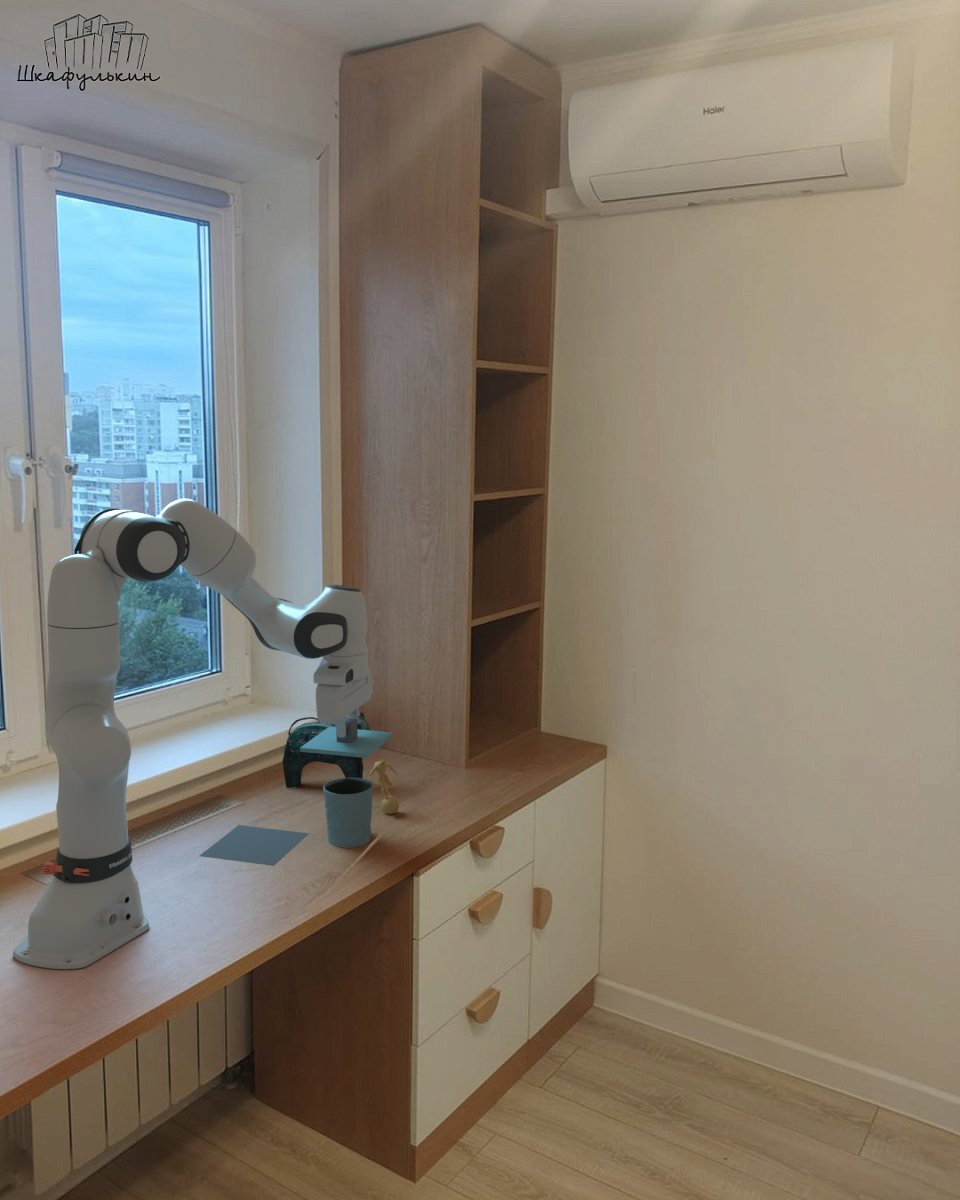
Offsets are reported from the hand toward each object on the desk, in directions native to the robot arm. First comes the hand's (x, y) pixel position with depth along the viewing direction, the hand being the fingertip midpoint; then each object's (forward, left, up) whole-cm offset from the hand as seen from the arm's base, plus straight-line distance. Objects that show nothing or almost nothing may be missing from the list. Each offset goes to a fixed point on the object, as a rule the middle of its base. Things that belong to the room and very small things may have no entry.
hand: (346, 732), depth 214 cm
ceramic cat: (+27, +17, -23) cm, 40 cm away
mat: (-8, +17, -23) cm, 30 cm away
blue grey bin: (0, 0, -23) cm, 23 cm away
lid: (0, 0, -2) cm, 2 cm away
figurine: (+16, -2, -23) cm, 28 cm away
